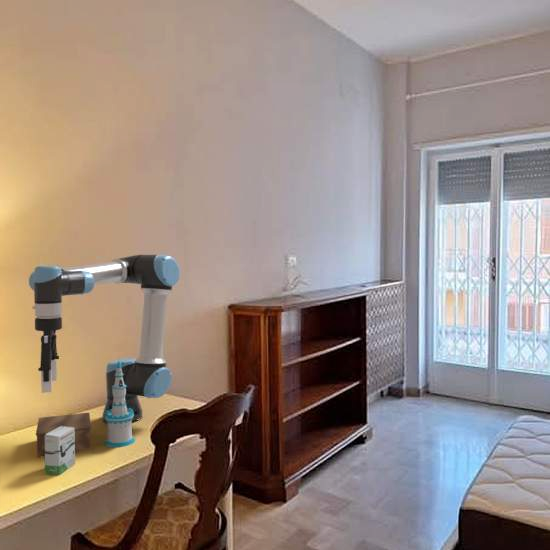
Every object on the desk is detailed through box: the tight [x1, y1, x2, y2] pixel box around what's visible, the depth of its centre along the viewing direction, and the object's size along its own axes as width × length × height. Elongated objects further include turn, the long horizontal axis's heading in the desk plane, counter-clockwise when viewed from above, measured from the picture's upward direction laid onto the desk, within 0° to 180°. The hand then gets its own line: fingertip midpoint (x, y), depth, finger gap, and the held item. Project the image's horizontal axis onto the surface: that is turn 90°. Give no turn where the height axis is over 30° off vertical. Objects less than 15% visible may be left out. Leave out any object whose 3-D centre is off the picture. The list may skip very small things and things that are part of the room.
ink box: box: [44, 426, 76, 476], centre depth 157 cm, size 9×5×12 cm, turn 168°
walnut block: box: [35, 412, 92, 458], centre depth 176 cm, size 17×17×8 cm
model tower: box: [104, 356, 136, 448], centre depth 178 cm, size 10×10×30 cm
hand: (49, 386), depth 157 cm, fingers open, 13 cm apart
